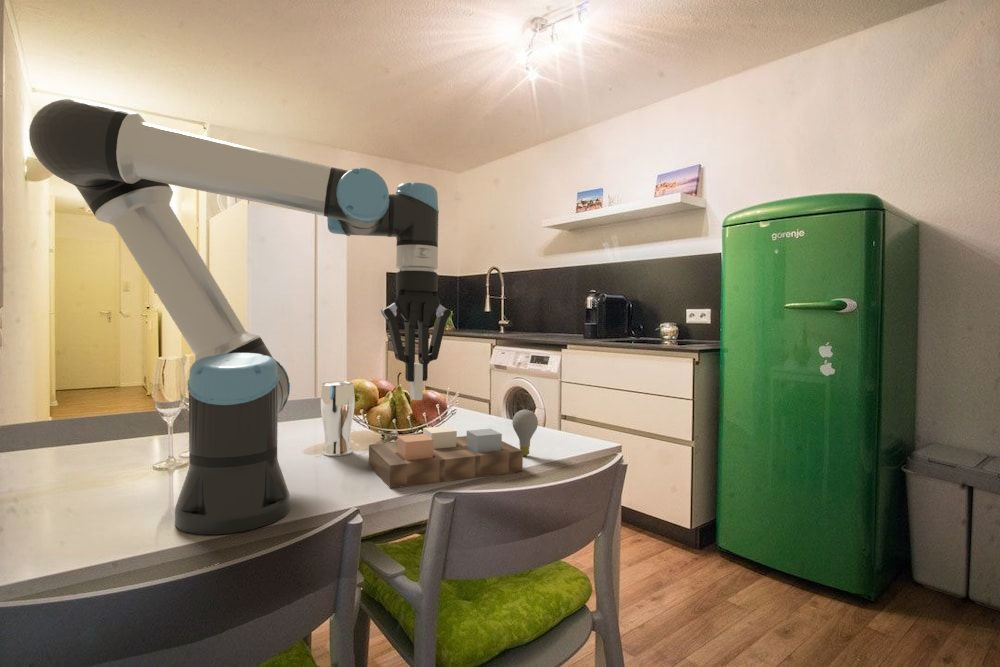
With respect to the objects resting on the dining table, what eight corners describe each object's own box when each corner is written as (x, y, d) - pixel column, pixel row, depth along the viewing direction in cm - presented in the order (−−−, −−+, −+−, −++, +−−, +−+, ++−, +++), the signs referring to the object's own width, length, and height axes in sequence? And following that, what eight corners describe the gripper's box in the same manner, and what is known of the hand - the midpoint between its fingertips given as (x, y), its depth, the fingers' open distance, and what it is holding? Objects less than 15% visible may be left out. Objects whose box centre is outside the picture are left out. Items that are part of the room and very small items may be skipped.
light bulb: (527, 460, 113) (528, 412, 112) (506, 456, 116) (507, 409, 116) (542, 455, 117) (542, 409, 117) (521, 451, 120) (522, 406, 120)
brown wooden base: (389, 488, 93) (390, 465, 93) (368, 464, 108) (368, 444, 107) (522, 471, 105) (522, 450, 105) (487, 452, 119) (487, 434, 119)
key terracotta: (405, 469, 97) (405, 442, 97) (397, 462, 101) (397, 436, 101) (432, 466, 99) (433, 439, 99) (423, 459, 104) (424, 433, 104)
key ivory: (431, 458, 105) (431, 433, 105) (422, 452, 110) (423, 428, 110) (456, 455, 108) (456, 431, 107) (446, 449, 112) (447, 426, 112)
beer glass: (348, 457, 113) (349, 385, 112) (315, 456, 113) (315, 385, 113) (358, 449, 120) (358, 381, 119) (326, 448, 120) (327, 381, 120)
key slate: (476, 462, 103) (477, 436, 103) (466, 455, 108) (466, 430, 108) (501, 459, 105) (501, 433, 105) (489, 453, 110) (490, 428, 110)
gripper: (387, 267, 93) (386, 404, 94) (457, 271, 99) (456, 399, 99) (376, 270, 100) (376, 398, 100) (443, 273, 105) (442, 394, 106)
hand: (416, 398), depth 100 cm, fingers closed
